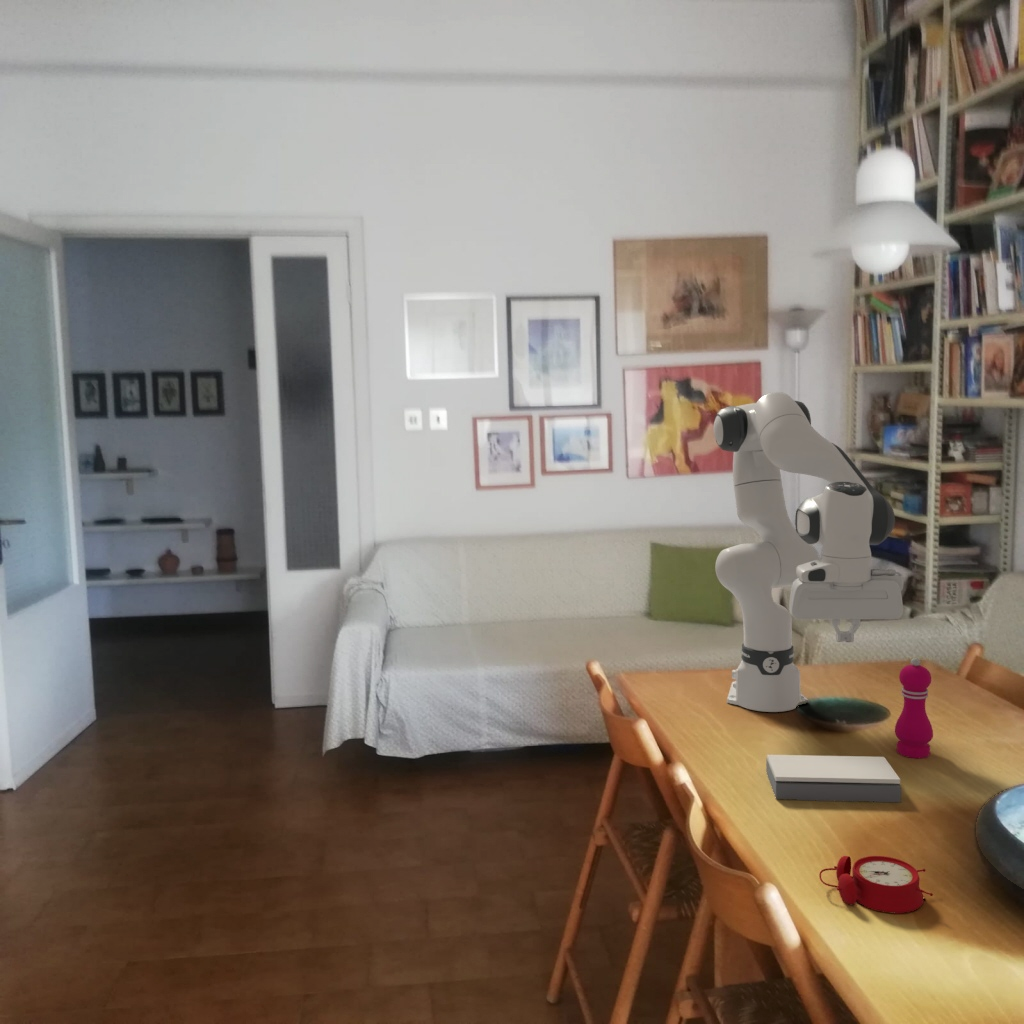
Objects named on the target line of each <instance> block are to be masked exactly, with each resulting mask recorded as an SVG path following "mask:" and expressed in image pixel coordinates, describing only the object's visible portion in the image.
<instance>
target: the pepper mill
mask: <svg viewBox="0 0 1024 1024" xmlns="http://www.w3.org/2000/svg"><path fill="white" fill-rule="evenodd" d="M898 676H899V677H898V678H899V682H900V683H901V685H902V687H901V696H903V707H902V710H901V713H900V715H899V717H898V718H897V720H896V723H895V727H894V735H895V736H896V738H897V739H898V741H897V742H896V752H897V753H898V754H899V755H901V756H903V757H906V758H910V759H924V758H928V757H929V756H931V746H930V744H929V743H930V742H931V741H932V739H933V737H934V729H933V726H932V723H931V721H930V719H929V717H928V714H927V710H926V700H927V698H928V697H929V694H928V693H929V689H928V688H929V686H930V685H931V683H932V674H931V672H930V671H929V670H928V668H927V667H925V666H923V665H921V660H920V659H919V658H917V657H913V658H912V659H911V660H910V664H908V665H905V666H904V667H902V668H901V670H900V672H899V675H898Z"/></svg>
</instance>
